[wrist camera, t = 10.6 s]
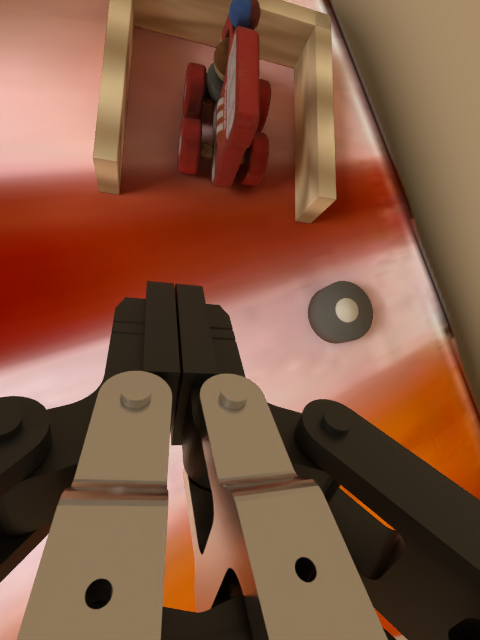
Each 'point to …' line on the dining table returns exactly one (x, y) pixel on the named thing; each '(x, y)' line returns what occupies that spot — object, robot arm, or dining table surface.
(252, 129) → the toy fire truck
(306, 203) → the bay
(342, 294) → the spare wheel
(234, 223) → the dining table surface
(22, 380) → the dining table surface
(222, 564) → the robot arm
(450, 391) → the dining table surface
